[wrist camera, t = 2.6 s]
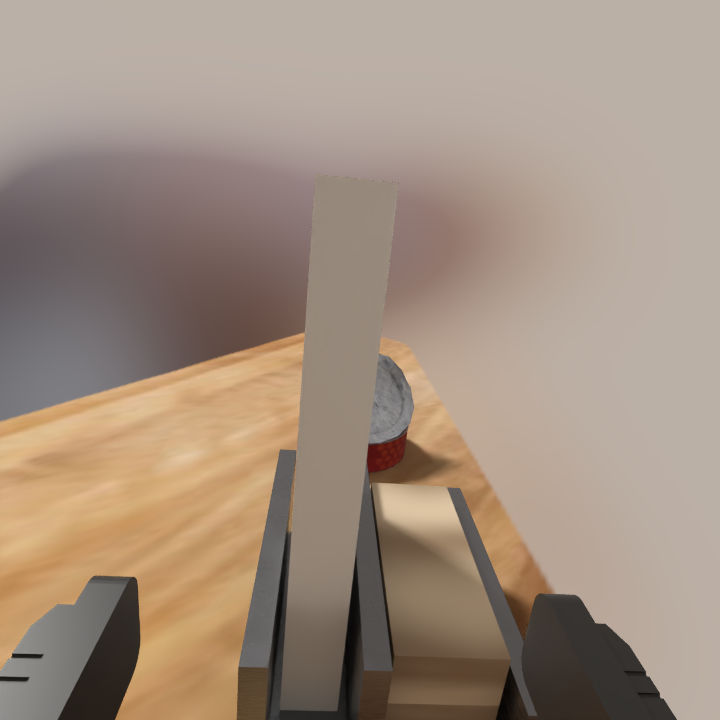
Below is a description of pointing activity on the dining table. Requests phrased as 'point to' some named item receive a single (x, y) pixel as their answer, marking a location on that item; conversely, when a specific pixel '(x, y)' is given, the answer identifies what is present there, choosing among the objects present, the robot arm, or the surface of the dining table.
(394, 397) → the canned food
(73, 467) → the dining table surface
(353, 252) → the white rectangular board
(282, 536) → the rack
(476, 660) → the offcut top
